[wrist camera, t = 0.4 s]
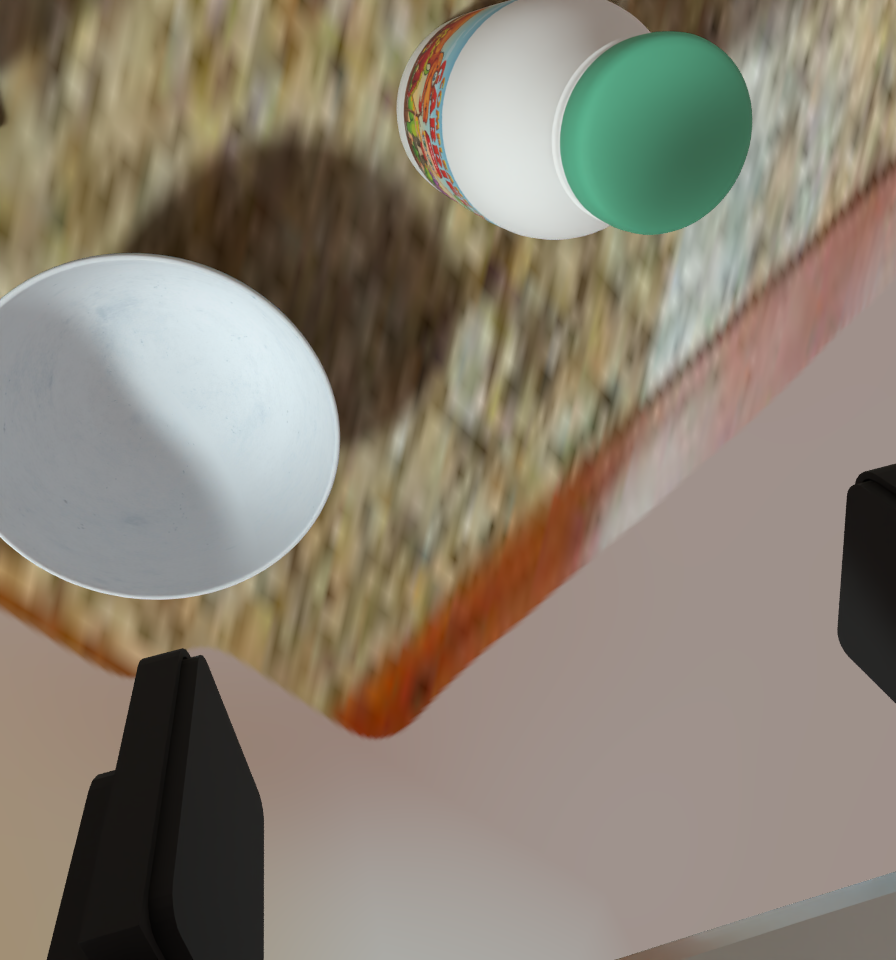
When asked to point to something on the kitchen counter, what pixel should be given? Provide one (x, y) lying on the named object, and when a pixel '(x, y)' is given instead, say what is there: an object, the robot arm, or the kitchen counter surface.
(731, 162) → the milk bottle
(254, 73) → the kitchen counter surface
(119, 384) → the chinaware
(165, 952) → the robot arm
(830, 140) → the kitchen counter surface
